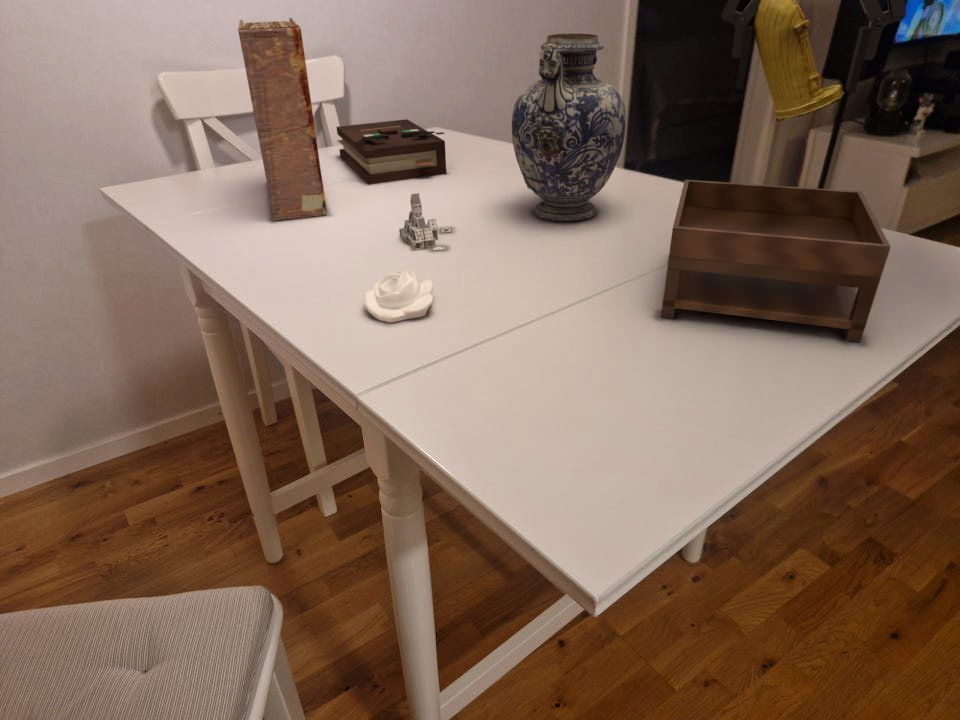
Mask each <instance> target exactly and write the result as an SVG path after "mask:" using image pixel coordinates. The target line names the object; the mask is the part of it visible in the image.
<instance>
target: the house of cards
mask: <svg viewBox="0 0 960 720" xmlns="http://www.w3.org/2000/svg"><path fill="white" fill-rule="evenodd" d="M422 204H423V203H422V200H421V195H420V192H417V193H410V210H411V211H408V212H409V213H408V219H405V220H404V224H403V225H404V226H403V227H402V228H399V229H398V233H399V237H401V238H402V239H403V240H404V241H405V243H406V244H408V245H409V246H410V247H411V248H412V251H418V250H424V249H428V248H432V250H433V251H442V250H446V248H445V246H437V241H438V240H439V235H438V233H439V232H438V230H439V226H438V222H437V218H429V219H427V224H426V221H425V217H424V215H423V205H422ZM442 233H451V228H450V227H449V228H448V227H447V228H442Z"/></svg>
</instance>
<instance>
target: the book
mask: <svg viewBox="0 0 960 720" xmlns="http://www.w3.org/2000/svg"><path fill="white" fill-rule="evenodd" d="M288 19H289V20H281V21H280V20H279V21H277V20H276V21H255V22H253V21H252V22H244V21H243V19H239V23H238V27H237V31H238V38H239V41H240V47H241V53H242V58H243V63H244V68H245V74H246V79H247V85H248V90H249V95H250V100H251V106H252V111H253V116H254V122H255V127H256V133H257V137H258V142H259V147H260V153H261V159H262V164H263V170H264V174H265V175H264V176H265V180H266V186H267V191H268V196H269V201H270V202H269V203H270V206H271V212H272V218H273V221H274V222H275V221H283V220H292V219H300V218H301V219H302V218H311V217H319V216H328V211H327V203H326V198H325V191H324V184H323V177H322V169H321V163H320V155H319V149H318V148H319V147H318V141H317V133H316V127H315V119H314V112H313V106H312V98H311V92H310V85H309V78H308V70H307V69H308V68H307V62H306V57H305V56H306V55H305V49H304V41H303V35H302V29H301V26H299V24H298V23H297V22H296V21H295V20H294V19H293V17H289V18H288Z"/></svg>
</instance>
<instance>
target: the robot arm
mask: <svg viewBox="0 0 960 720" xmlns="http://www.w3.org/2000/svg"><path fill="white" fill-rule="evenodd" d="M886 1H887V9H888V10H884V11H883V10H882V7H881V5H880V3H879V1H878V0H859V2H860V4H861V7H862V10H863V11H864V14H865V16H866V19H867V21H868V26H860V27H859V30H858V35H857V39H856V43H855V47H854V50H853V54H852V59H851V63H850V67H849V71H848V75H847V79H846V83H845V87H844V89H845V91H846V93H848V94H855V93H856V91H857V87H858V83H859V79H860V76H861V72H862V67H863V63H864V61H867V60H868V61H873V59H874V58H875V57H876V54H877V52H878V51H877V50H878V48H879V43H880V39H881V36H882V32H883V29H884V28H885V27H886V26H888V25H890V24H892V23H895V22H901V21H903V20H904V19H905V18H906V16H907V7H906V0H886ZM740 2H741V0H727V2H726V3H725V6H724V8H723V9H722V11H721V15H720V18H721V20H722V21H723V22H727V23H730V24H732V25H733V26H734V34H733V35H734V36H733V42H732V49H731V56H732V58H733V59H735V58H736V59H737V58H739V59H740V63H739V69H738V74H737V81H736V87H735V90H740V91H741V90H742V91H743V90H744V86H745V85H744V84H745V80H746V72H747V67H748V61H749V55H750V51H751V44H752V39H753V33H754V25H752V26H750V25H749V26H748V24H749V22H750V21H751V20H752V18H754V15H755V14H756V13H757V11H758V8H759V4H760V2H761V0H750V2H749V3H748V4H747V5H746V7H745V8H744V9H743V10H742V11H741V12H740V11H737V7H738V6H739V4H740Z"/></svg>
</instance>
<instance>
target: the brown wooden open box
mask: <svg viewBox="0 0 960 720" xmlns="http://www.w3.org/2000/svg"><path fill="white" fill-rule="evenodd" d="M890 250H891V244H890V243H889V241H888V239H887V237H886V235H885V232H884V231H883V229H882V227H881V225H880V224H879V222H878V220H877V217H876V216H875V214H874V212H873V210H872V208H871V206H870V204H869V203H868V200H867V199H866V196H865V195H864V192H863V191H861V190H859V191H858V190H846V189H844V190H843V189H832V188H831V189H830V188H815V187H801V186H800V187H799V186H786V185H783V186H782V185H769V184H756V183H742V182H741V183H739V182H725V181H713V180H711V181H709V180H696V179H695V180H694V179H684V181H683V185H682V190H681V193H680V197H679V202H678V205H677V209H676V213H675V218H674V221H673V225H672V230H671V237H670V246H669V253H668V260H667V266H666V275H665V281H664V288H663V289H664V290H663V297H662V305H661V312H660V318H663V319H671V320H673V319H674V316H675V311H676V309H681V310H688V311H696V312H706V313H713V314H721V315H730V316H738V317H746V318H754V319H762V320H771V321H780V322H785V323H786V322H787V323H795V324H805V325H811V326H818V327H819V326H820V327H829V328H836V329H837V328H838V329H845V330H844V335H843V336H844V339H845V341H846V342H853V343H861V341H862V338H863V335H864V333H865V332H864V331H865V329H866V326H867V323H868V319H869V316H870V314H871V310H872V307H873V303H874V301H875V297H876V295H877V290H878V288H879V285H880V282H881V277H882V276H883V272H884V269H885V265H886V263H887V259H888V256H889V253H890ZM856 289H857V291H856Z"/></svg>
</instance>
